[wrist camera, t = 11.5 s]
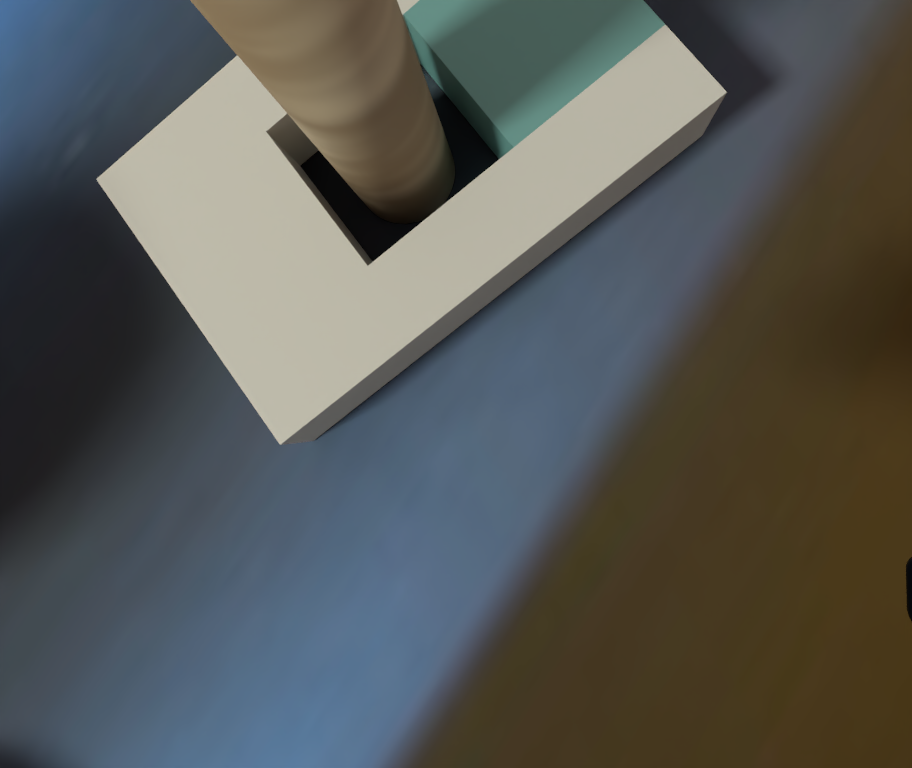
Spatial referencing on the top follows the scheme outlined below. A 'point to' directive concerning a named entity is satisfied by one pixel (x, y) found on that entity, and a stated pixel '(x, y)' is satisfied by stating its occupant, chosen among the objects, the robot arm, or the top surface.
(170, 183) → the socket plate
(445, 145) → the birch peg
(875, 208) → the top surface
